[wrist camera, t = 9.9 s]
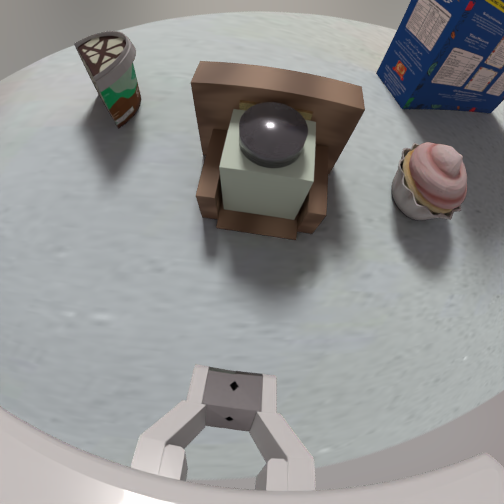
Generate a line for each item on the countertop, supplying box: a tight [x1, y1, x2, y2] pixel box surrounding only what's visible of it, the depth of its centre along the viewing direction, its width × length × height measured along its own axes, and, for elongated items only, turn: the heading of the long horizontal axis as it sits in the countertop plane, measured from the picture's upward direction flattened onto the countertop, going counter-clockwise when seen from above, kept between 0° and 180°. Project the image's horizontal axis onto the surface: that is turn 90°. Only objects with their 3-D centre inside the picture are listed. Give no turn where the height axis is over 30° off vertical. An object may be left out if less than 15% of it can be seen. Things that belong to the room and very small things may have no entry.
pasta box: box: [376, 0, 504, 113], centre depth 23 cm, size 28×8×28 cm, turn 107°
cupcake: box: [392, 142, 467, 221], centre depth 26 cm, size 9×9×10 cm
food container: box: [74, 31, 141, 129], centre depth 28 cm, size 12×6×10 cm, turn 36°
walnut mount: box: [191, 61, 365, 240], centre depth 24 cm, size 14×11×11 cm
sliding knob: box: [219, 102, 316, 220], centre depth 24 cm, size 7×6×10 cm
